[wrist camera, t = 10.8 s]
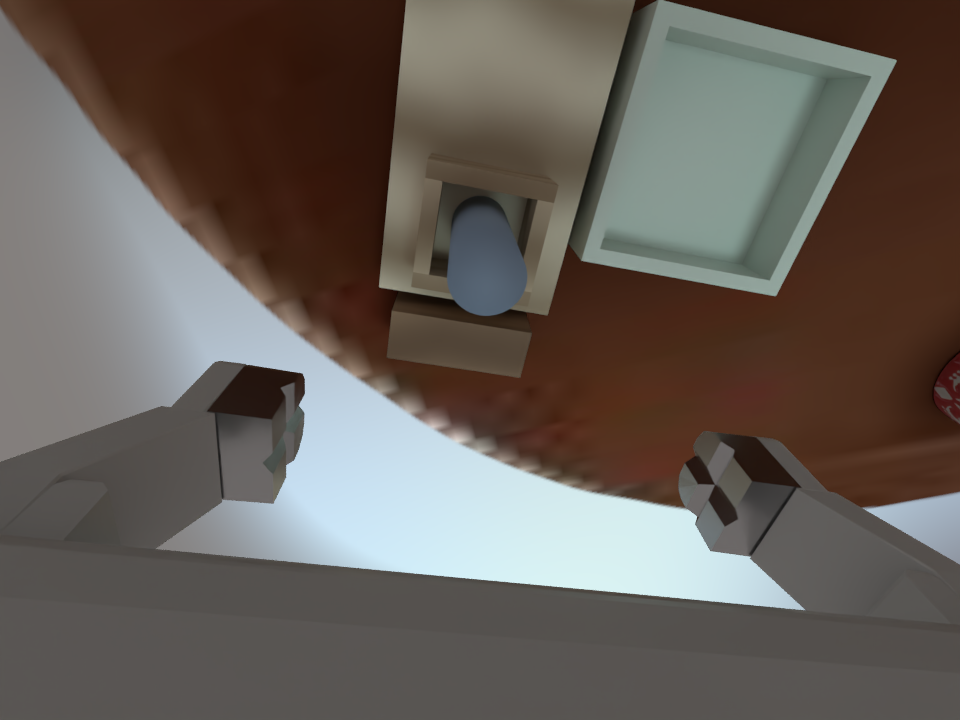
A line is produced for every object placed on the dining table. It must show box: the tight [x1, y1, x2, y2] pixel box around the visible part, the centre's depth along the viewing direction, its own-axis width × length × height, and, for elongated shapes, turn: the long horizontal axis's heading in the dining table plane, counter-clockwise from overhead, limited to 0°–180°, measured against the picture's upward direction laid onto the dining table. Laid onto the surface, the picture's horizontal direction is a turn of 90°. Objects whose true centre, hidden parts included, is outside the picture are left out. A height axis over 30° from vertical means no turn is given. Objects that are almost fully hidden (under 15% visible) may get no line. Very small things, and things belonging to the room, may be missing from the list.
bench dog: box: [387, 291, 532, 378], centre depth 29 cm, size 3×8×4 cm, turn 79°
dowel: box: [447, 196, 527, 316], centre depth 22 cm, size 3×3×9 cm
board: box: [379, 0, 635, 315], centre depth 23 cm, size 18×10×6 cm, turn 169°
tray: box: [568, 0, 897, 296], centre depth 25 cm, size 12×12×4 cm
